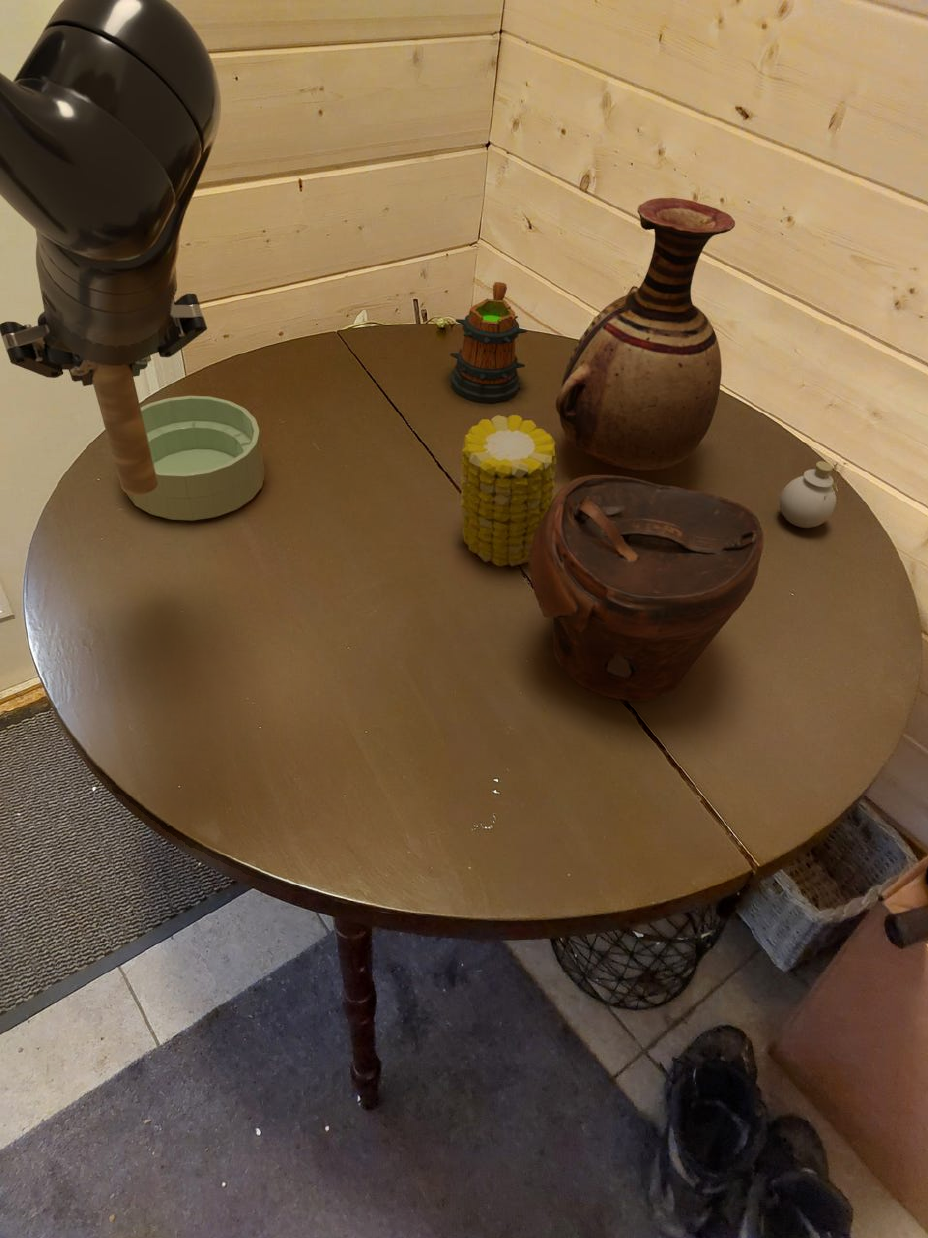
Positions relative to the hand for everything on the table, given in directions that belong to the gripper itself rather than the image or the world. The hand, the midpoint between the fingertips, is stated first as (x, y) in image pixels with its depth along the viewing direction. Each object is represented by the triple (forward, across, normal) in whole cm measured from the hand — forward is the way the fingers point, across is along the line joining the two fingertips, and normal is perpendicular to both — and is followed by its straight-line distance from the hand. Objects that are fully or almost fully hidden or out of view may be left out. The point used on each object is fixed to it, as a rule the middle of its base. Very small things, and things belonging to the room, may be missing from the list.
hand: (106, 368), depth 66 cm
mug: (+33, -51, +1) cm, 60 cm away
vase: (+16, -57, +18) cm, 62 cm away
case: (-2, -36, +36) cm, 51 cm away
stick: (+6, 0, +8) cm, 10 cm away
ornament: (+3, -69, +32) cm, 76 cm away
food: (+11, -34, +23) cm, 43 cm away
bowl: (+28, -8, +6) cm, 29 cm away
